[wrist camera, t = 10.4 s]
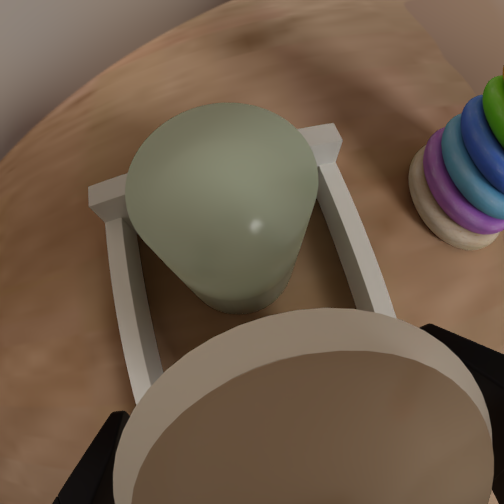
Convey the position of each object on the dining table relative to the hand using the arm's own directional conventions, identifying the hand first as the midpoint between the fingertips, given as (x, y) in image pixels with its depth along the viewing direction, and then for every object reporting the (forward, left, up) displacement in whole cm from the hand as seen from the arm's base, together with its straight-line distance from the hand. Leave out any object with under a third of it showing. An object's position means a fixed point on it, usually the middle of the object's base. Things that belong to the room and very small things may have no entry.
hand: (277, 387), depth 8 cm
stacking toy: (+9, -14, -8) cm, 19 cm away
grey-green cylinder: (+6, +1, -8) cm, 10 cm away
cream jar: (-1, 0, -8) cm, 8 cm away
